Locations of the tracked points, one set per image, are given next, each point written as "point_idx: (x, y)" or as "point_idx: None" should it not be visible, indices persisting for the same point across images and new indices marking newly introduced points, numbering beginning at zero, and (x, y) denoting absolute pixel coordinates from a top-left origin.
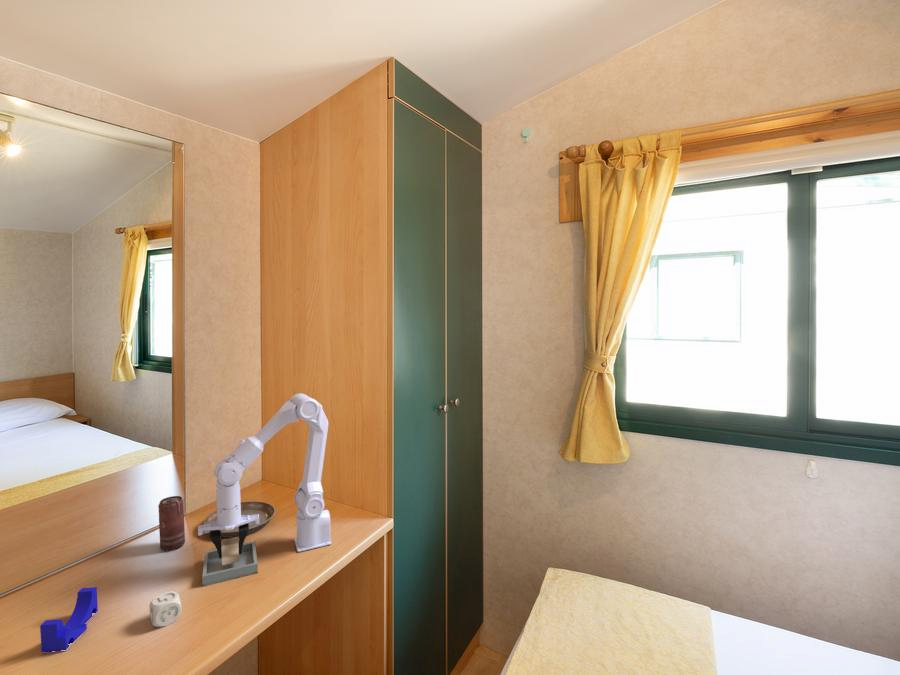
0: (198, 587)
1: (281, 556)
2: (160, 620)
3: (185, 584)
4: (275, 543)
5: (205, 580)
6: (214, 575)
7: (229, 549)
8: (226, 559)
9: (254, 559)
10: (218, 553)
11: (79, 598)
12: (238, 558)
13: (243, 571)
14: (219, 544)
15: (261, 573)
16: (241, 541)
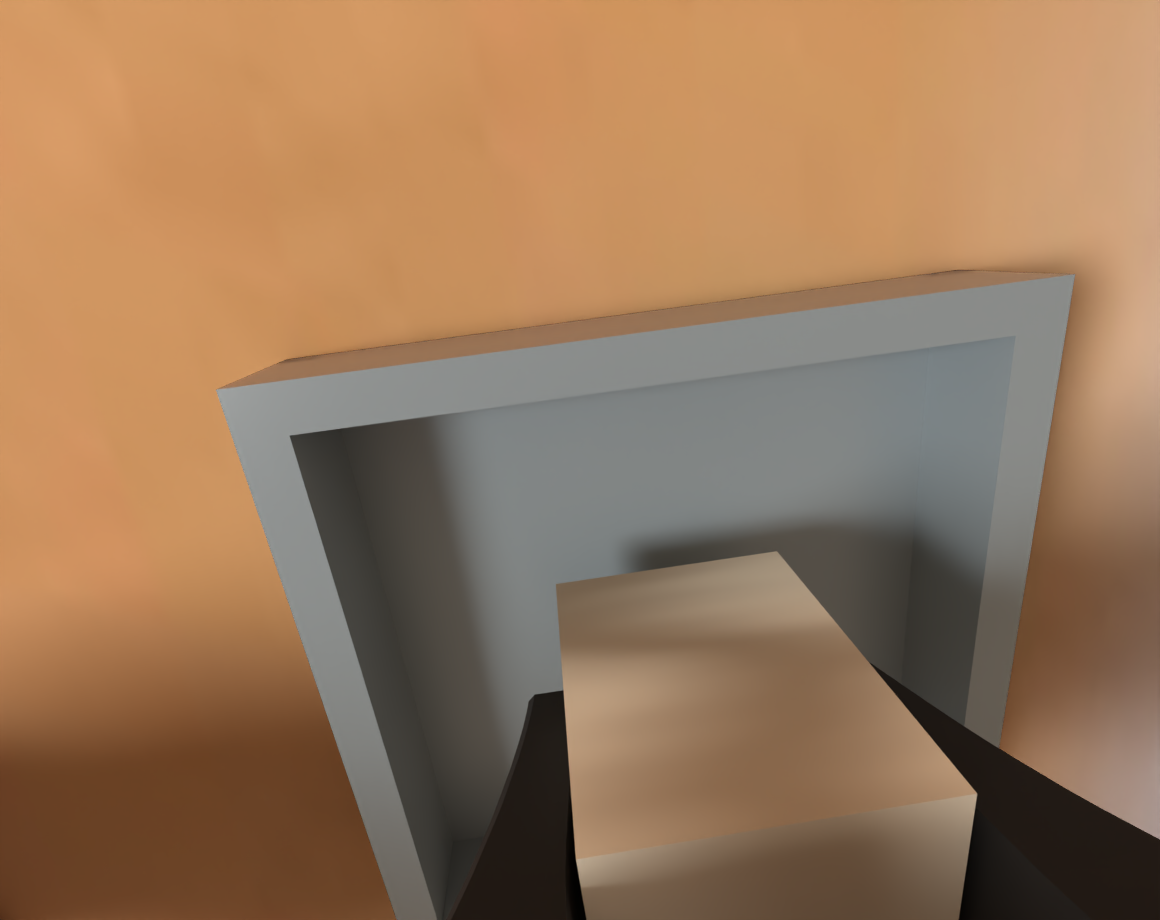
0: (1003, 267)
1: (57, 660)
2: None
3: (1124, 391)
4: (224, 912)
5: (975, 278)
6: (884, 293)
7: (755, 733)
8: (745, 604)
9: (307, 540)
10: (924, 701)
11: None
12: (565, 614)
13: (460, 344)
14: (1081, 872)
15: (227, 331)
16: (505, 917)
